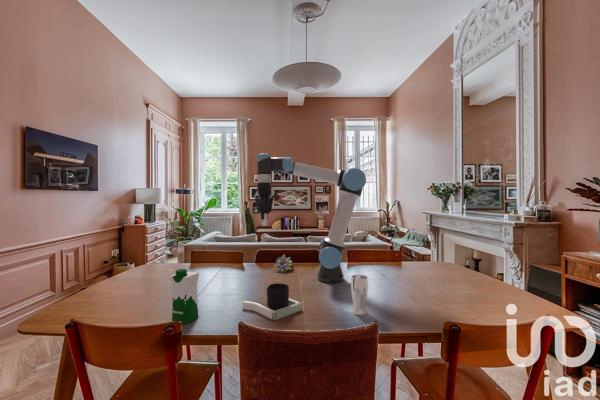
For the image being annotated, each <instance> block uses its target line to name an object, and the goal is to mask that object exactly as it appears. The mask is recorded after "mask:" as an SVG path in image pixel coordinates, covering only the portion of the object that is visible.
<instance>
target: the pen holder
mask: <svg viewBox="0 0 600 400" xmlns="http://www.w3.org/2000/svg"><path fill="white" fill-rule="evenodd" d="M289 293H290V287H289V285H288V284H286V283H279V282H278V283H272V284H269V285H268V286H267V288H266V303H267V304H266V305H267V308H270V309H272V310H274V311H275V310H278V309H281V308H284V307H287V306H288V300H289V298H290V297H289V295H290V294H289Z"/></svg>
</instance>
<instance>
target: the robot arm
mask: <svg viewBox="0 0 600 400" xmlns="http://www.w3.org/2000/svg"><path fill="white" fill-rule="evenodd" d="M256 157H257V158H256V159H257V160H256V165H257V167H256V168H257V174H256V175H257V177H256V178H257V185H256V187H257V192H256V194H254V195H253V198H254V201H255V205H256V210H257V213H259V214H260V220H261V226H263V227H266V226H268V220H269V214H270V213H271V212H272V207H273V203H274V199H275V194H272V191H271V190H272V172H281V173H282V174H284V175H285V174H286V175H287V174H288V175H292V176H297V177H300V178H301V177H303V178H306V179H310V180H316V181H320V182H326V183H329V184H333V185H334V184H335V186H336V187H339V190H338V191H339V193H340V196H339V199H338V202H337V204H336V205H337V206H336V209H335V212H334V215H333V218H332V222H331V226H330V228H329V232H328V235H327V237H325V238H323V239H321V240H320V243H319V246H320V248H319V249H320V250H319V253H318V260H319V262H320V264H319V265H320V266H319V269H318V272H317V277H316V278H317V280H318V281H320V282H322V283H330V284H331V283H333V284H336V283H341V282H343V281H344V273H343V270H342V266H341V265H342V263H341V262H342V261H343V254H344V250H345V247H346V245H345V243H344V240H345V237H346V234H347V230H348V227H349V225H350V221H351V218H352V215H353V211H354V209H355V205H356V202H357V200H358V198H361V196H362V195H361V194H362V192H363V189H364V187H365V185H366V183H367V177H366V174H365V172H364V171H363V170H362V169H360V168H358V167H351V168H350V167H349V168H348V169H346V170H344V169H339V170H335V169H331V168H324V167H321V166H315V165H311V164H306V163H300V162H296V161H294V159H293V158H292V157H288V156H283V157H282V156H281V157H272V155H271V154H270V153H258V155H257V156H256Z"/></svg>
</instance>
